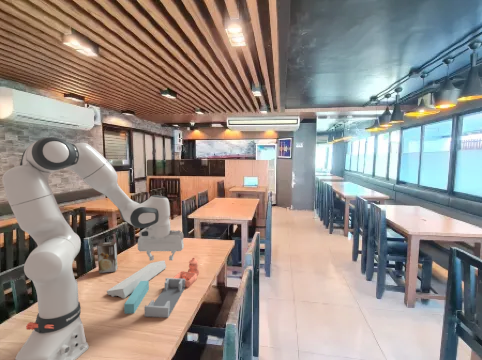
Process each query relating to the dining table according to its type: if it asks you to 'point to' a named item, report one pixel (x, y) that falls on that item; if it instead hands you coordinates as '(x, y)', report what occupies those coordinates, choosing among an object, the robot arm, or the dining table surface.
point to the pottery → (189, 273)
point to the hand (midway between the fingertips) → (161, 260)
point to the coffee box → (107, 257)
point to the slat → (136, 297)
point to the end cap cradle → (166, 299)
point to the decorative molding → (136, 279)
